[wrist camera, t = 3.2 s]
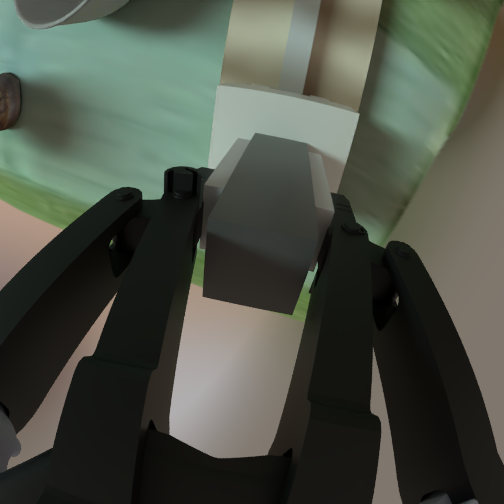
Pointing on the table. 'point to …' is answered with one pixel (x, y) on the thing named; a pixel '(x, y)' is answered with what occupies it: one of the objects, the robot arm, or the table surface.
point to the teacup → (63, 11)
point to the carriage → (270, 192)
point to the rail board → (328, 48)
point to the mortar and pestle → (9, 100)
